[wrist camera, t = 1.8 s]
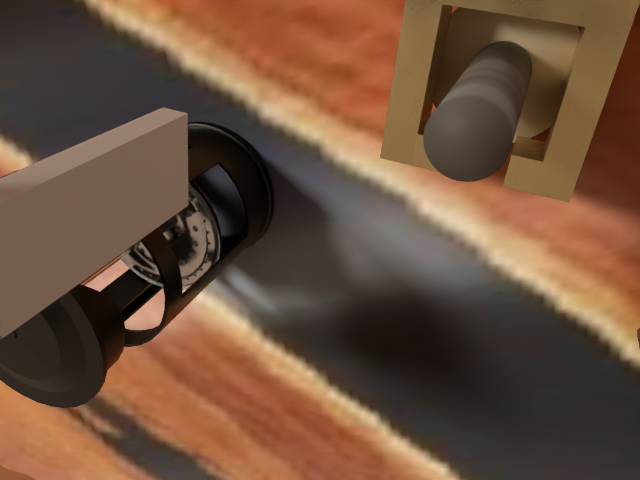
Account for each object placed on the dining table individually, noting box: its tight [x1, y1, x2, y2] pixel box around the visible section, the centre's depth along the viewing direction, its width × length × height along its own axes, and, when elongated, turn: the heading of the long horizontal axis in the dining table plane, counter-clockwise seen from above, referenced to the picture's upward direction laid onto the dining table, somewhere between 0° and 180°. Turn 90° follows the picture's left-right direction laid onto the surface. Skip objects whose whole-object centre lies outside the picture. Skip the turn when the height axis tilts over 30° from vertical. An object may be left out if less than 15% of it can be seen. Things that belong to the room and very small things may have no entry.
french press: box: [0, 122, 274, 408], centre depth 31 cm, size 12×9×23 cm
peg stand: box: [423, 7, 580, 182], centre depth 24 cm, size 7×7×13 cm
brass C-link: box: [380, 0, 640, 202], centre depth 27 cm, size 9×9×3 cm
